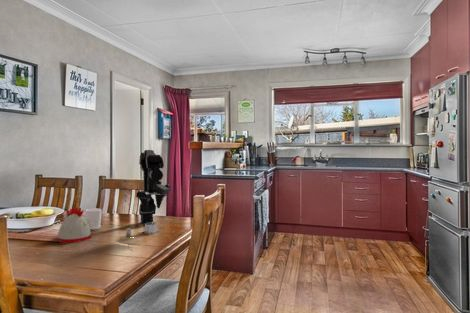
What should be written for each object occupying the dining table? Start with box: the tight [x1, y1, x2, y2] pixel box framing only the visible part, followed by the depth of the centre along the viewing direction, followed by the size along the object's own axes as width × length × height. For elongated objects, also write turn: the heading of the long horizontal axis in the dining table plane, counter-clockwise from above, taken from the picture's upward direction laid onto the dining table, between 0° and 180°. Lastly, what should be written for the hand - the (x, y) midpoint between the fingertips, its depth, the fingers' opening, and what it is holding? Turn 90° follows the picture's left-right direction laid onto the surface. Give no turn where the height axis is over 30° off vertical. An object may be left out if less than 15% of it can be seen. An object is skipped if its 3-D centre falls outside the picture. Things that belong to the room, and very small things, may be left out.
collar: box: [144, 221, 158, 235], centre depth 154 cm, size 6×6×4 cm
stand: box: [140, 223, 161, 236], centre depth 154 cm, size 7×7×6 cm
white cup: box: [85, 208, 103, 231], centre depth 162 cm, size 8×8×10 cm
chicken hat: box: [57, 206, 92, 244], centre depth 143 cm, size 14×14×15 cm
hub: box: [120, 227, 137, 240], centre depth 144 cm, size 7×7×5 cm
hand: (152, 209), depth 154 cm, fingers open, 9 cm apart
